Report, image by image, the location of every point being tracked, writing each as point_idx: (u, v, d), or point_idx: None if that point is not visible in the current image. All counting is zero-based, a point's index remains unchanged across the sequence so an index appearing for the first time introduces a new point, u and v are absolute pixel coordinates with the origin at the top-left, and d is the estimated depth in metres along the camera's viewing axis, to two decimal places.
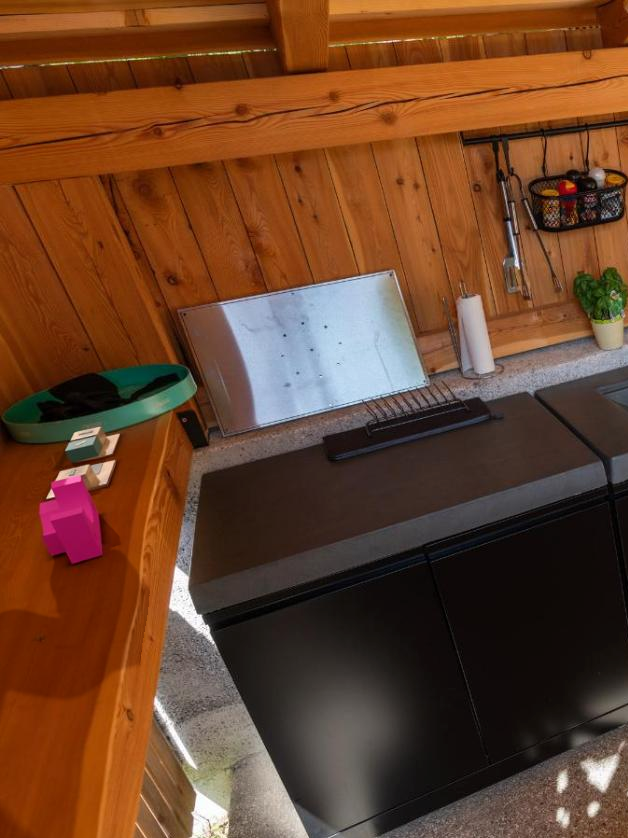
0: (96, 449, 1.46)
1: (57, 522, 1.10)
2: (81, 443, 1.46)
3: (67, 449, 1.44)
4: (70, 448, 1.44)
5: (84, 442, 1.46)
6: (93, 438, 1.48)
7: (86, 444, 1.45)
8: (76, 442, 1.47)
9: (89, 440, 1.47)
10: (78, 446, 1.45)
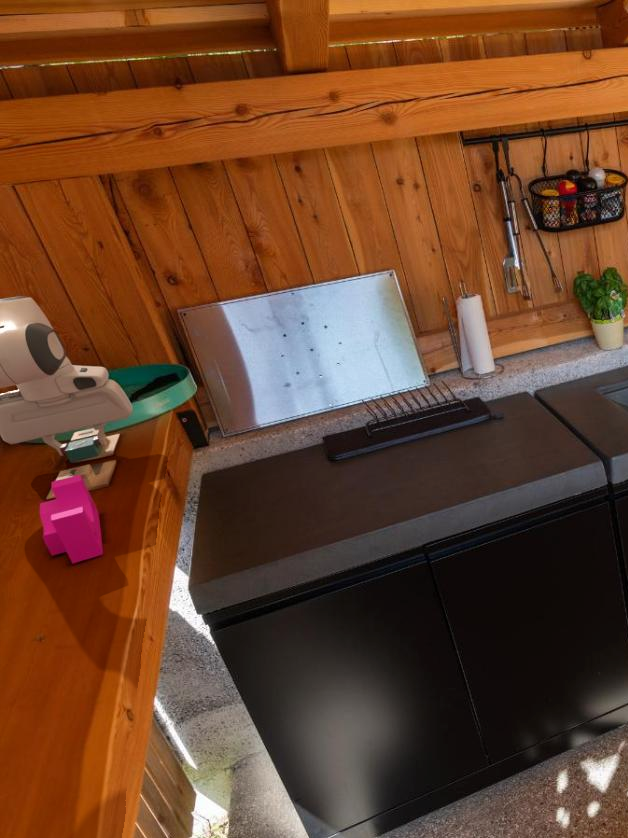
0: (96, 449, 1.46)
1: (58, 522, 1.10)
2: (81, 443, 1.46)
3: (67, 449, 1.44)
4: (70, 448, 1.44)
5: (84, 442, 1.46)
6: (93, 438, 1.48)
7: (86, 444, 1.45)
8: (76, 442, 1.47)
9: (89, 440, 1.47)
10: (78, 446, 1.45)
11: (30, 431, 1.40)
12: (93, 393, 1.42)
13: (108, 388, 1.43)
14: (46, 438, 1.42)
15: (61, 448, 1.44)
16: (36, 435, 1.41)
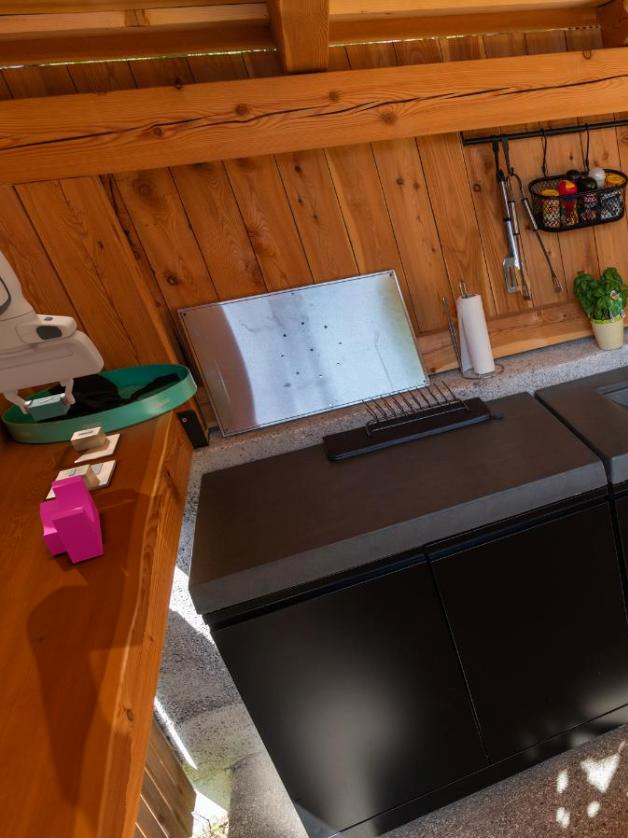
0: (63, 407, 1.34)
1: (58, 521, 1.10)
2: (46, 400, 1.34)
3: (31, 406, 1.32)
4: (34, 405, 1.32)
5: (50, 399, 1.34)
6: (60, 395, 1.35)
7: (52, 401, 1.33)
8: (41, 399, 1.34)
9: (56, 397, 1.35)
10: (43, 403, 1.32)
11: None
12: (59, 344, 1.30)
13: (76, 339, 1.30)
14: (8, 394, 1.30)
15: (24, 405, 1.32)
16: None
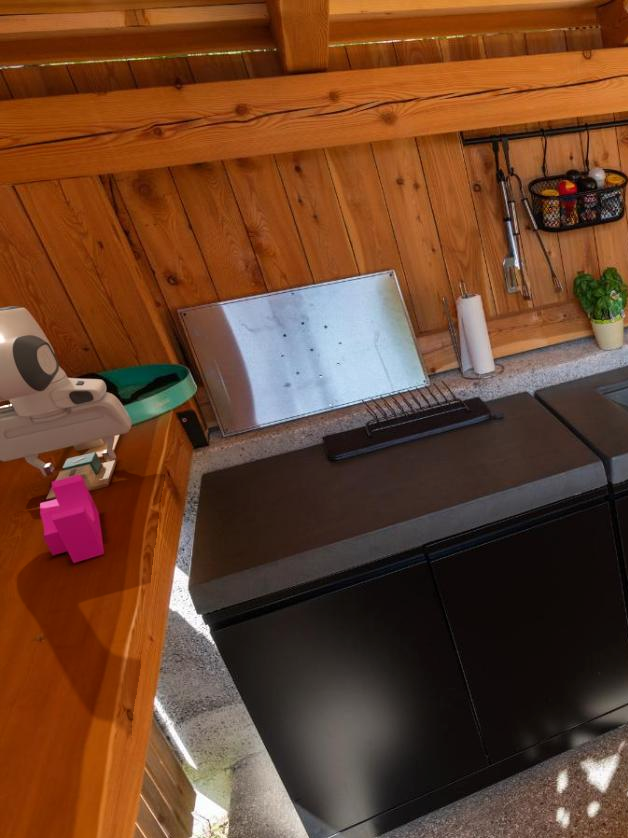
0: (95, 466, 1.39)
1: (59, 521, 1.10)
2: (79, 459, 1.39)
3: (64, 466, 1.37)
4: (68, 465, 1.37)
5: (82, 458, 1.39)
6: (92, 454, 1.41)
7: (84, 461, 1.38)
8: (74, 458, 1.40)
9: (88, 457, 1.40)
10: (76, 463, 1.38)
11: (24, 447, 1.33)
12: (91, 407, 1.35)
13: (106, 402, 1.36)
14: (28, 458, 1.34)
15: (45, 468, 1.36)
16: (30, 452, 1.34)
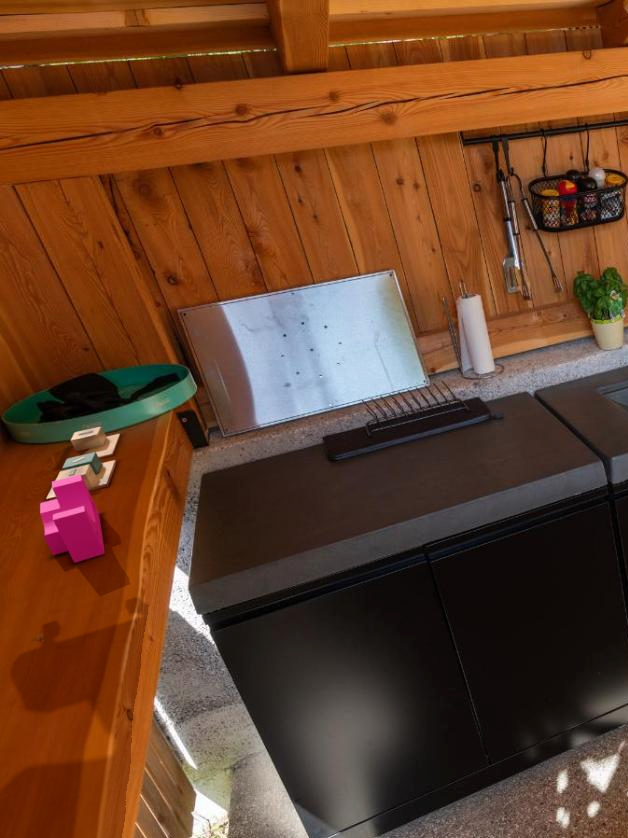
0: (95, 466, 1.39)
1: (60, 521, 1.10)
2: (79, 459, 1.39)
3: (64, 466, 1.37)
4: (68, 465, 1.37)
5: (82, 458, 1.39)
6: (92, 454, 1.41)
7: (84, 461, 1.38)
8: (74, 458, 1.40)
9: (88, 457, 1.40)
10: (76, 463, 1.38)
11: None
12: None
13: None
14: None
15: None
16: None
